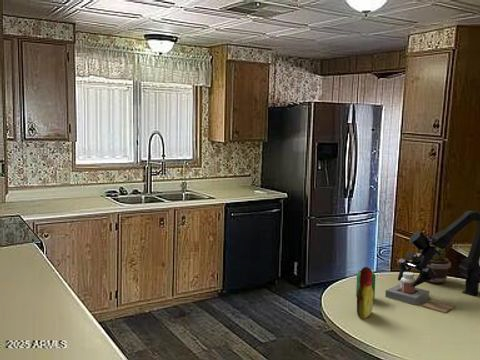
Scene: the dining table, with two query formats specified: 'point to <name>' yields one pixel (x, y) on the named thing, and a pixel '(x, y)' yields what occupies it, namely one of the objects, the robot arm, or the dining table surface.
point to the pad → (438, 306)
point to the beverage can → (371, 283)
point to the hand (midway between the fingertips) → (405, 283)
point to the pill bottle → (407, 283)
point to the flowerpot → (439, 267)
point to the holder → (407, 295)
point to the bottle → (365, 293)
